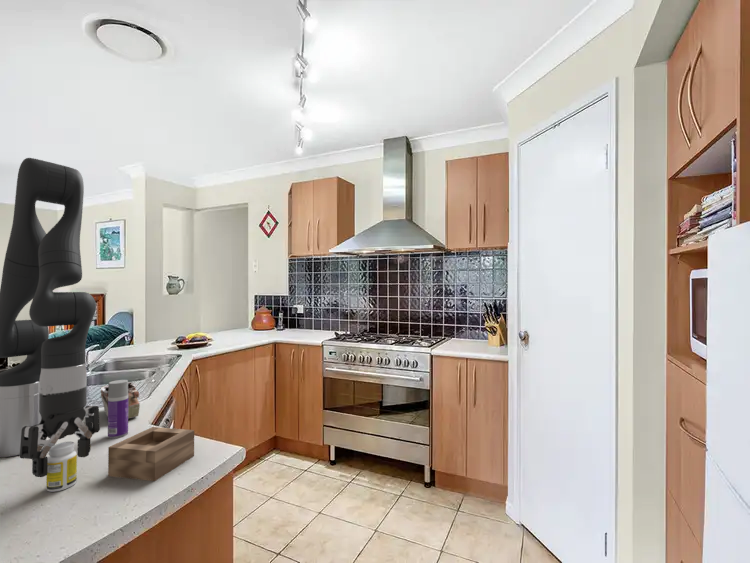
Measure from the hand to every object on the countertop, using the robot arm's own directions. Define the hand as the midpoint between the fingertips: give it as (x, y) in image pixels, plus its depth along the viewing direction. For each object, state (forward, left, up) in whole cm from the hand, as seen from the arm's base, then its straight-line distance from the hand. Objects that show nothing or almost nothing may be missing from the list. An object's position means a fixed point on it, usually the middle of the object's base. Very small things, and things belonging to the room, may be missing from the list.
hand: (63, 465), depth 75 cm
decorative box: (-28, +39, -5) cm, 48 cm away
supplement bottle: (0, 0, -4) cm, 4 cm away
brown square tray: (+12, +11, -5) cm, 17 cm away
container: (-12, +25, -4) cm, 28 cm away
